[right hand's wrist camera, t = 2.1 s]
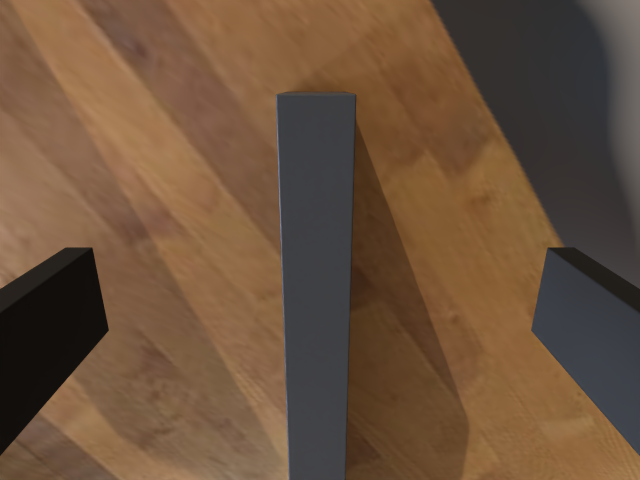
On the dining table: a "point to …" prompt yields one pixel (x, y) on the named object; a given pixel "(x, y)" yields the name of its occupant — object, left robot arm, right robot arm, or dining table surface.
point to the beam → (316, 274)
